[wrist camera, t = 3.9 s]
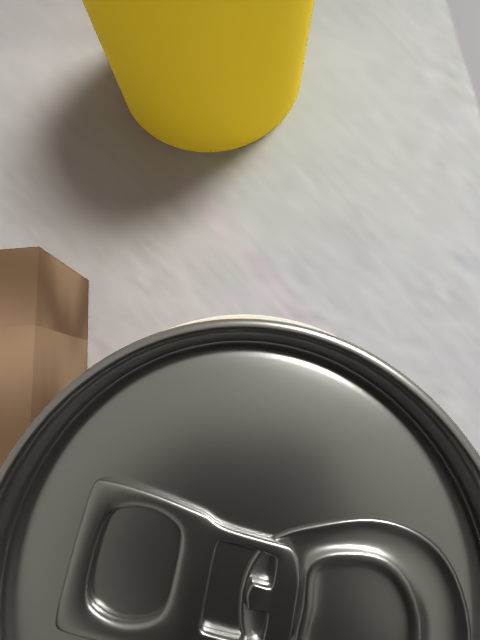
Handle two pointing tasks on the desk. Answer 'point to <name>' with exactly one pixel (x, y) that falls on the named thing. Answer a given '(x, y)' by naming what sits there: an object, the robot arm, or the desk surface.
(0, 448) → the bored block
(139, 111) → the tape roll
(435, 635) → the can
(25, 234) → the desk surface
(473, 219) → the desk surface
